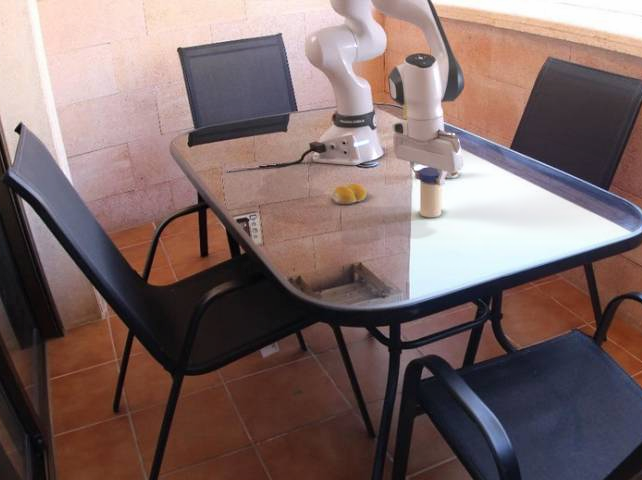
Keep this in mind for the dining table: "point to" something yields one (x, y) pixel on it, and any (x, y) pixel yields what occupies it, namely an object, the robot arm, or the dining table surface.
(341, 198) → the bread roll
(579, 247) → the dining table surface
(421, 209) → the beige cylinder
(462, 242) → the dining table surface
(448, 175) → the pill bottle
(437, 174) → the lid
